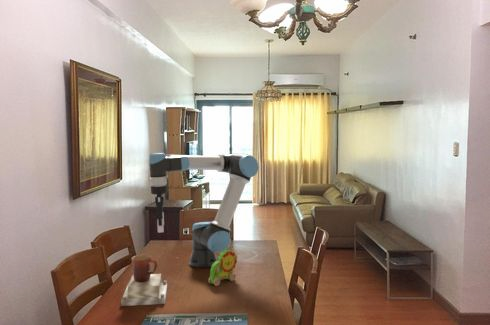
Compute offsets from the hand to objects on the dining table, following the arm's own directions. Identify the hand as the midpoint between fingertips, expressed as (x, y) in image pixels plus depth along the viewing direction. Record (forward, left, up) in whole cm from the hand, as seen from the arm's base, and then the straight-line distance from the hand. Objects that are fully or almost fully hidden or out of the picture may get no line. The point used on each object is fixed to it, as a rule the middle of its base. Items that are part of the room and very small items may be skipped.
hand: (161, 228), depth 203 cm
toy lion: (-30, +4, -27) cm, 40 cm away
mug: (+6, +18, -19) cm, 27 cm away
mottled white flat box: (+6, +18, -26) cm, 32 cm away
